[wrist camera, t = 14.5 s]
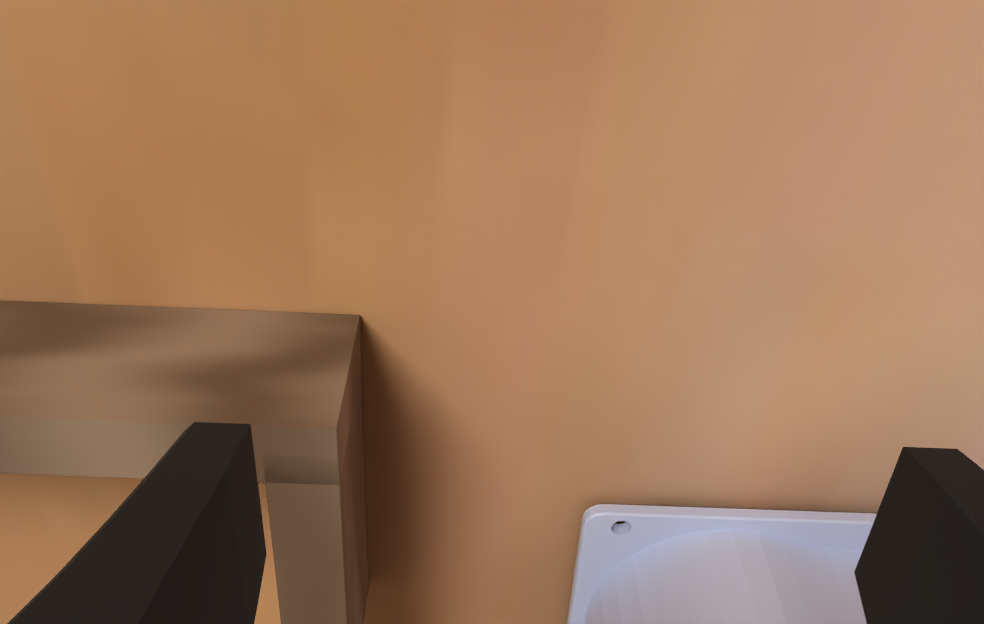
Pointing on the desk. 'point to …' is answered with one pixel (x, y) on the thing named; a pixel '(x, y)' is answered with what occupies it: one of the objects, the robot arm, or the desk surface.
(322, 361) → the walnut cubby
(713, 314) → the desk surface
